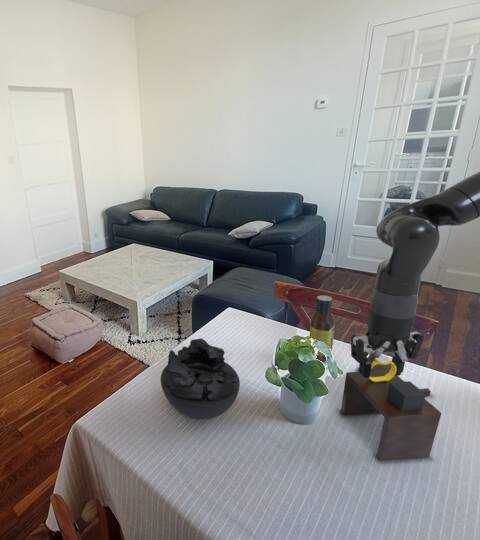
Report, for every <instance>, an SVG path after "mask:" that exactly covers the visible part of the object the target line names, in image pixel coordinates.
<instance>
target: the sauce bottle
mask: <svg viewBox="0 0 480 540" xmlns="http://www.w3.org/2000/svg"><path fill="white" fill-rule="evenodd" d="M315 301H316V308H315V312H314V313H313V314H312V315H311V317H310V318H311V319H310V326H309V337H310V336H311V337H312V338H313V339H316V340H318V341H321V342H324V343H325V344H326V345H327V346H329V348H330V349H331V351H332V352H333V345H334V335H335V323H336V322H335V319H334V317H333V316H334V315H333V313H332V304H333V298H332V297H331V296H329V295H325V294H324V295H318V296H316V299H315ZM317 359H318V360H317ZM315 360H317V361H327V360H326V357H325V355H324V354H323V353H321V352H319V351H318V355H317V358H316V359H315Z"/></svg>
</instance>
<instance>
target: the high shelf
mask: <svg viewBox="0 0 480 540" xmlns="http://www.w3.org/2000/svg"><path fill="white" fill-rule="evenodd" d="M389 371H390V369H383V370H371V373H370V377H372V378H373V377H381V376H385V375H386V374H388V373H389ZM395 382H405V380H404V379H402V378H401V377H400V376H396V375H394V377H393V378H391V379H390V380H389V381H381V382H373V381H371V380H370V379H369V378H365V377H364V376H363V375H361V373H360V372H359V371H349V372H346V373H345V379H344V386H343V392H342V393H343V394H342V400H341V406H340V413H341V414H342V415H343V416H351V415H352V416H353V415H364V414H367V415H368V414H377V413H379V414H381V416H383V417H384V418H383V423H382V428H381V432H380V438H379V441H378V447H377V452H376V457H377V459H378V460H379V461H380V462H383V461H384V462H385V461H398V460H399V461H400V460H411V459H412V460H415V459H425V458H426V459H427V458H430V457H431V452H432V449H433V445H434V441H435V438H436V435H437V431H438V427H439V424H440V420H441V418H442V412H441V411H440V410H439V409H438V408H437V407H435V406H434V405H433V404H432V403H430V401H428V400H427V399H426V398H425V399H424V403H423V407H422V410H420V411H407V412H401V411H400V410H399V409H398V408H397V407H396V406H395V405H394V404H393V403H392V402H391V401H390V400H389V399H387V395H388V391H389V386H390V383H395Z"/></svg>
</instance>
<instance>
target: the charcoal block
mask: <svg viewBox="0 0 480 540" xmlns="http://www.w3.org/2000/svg"><path fill="white" fill-rule="evenodd" d="M420 389H421V388H419V387H418V386H416V385H415V384H414V383H413V382H411V380H408V381H404V382H395V383H390V386H389V391H388V395H387V399H389V400H390V401H391V402H392V403H393V404H394V405H395V406H396V407H397V408H398V409H399V410H400V411H401V412H407V411H420V410H422V407H423V403H424V399H426V396H425V395H426V394H424V393H423V392H422V391H421V390H420Z"/></svg>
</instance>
